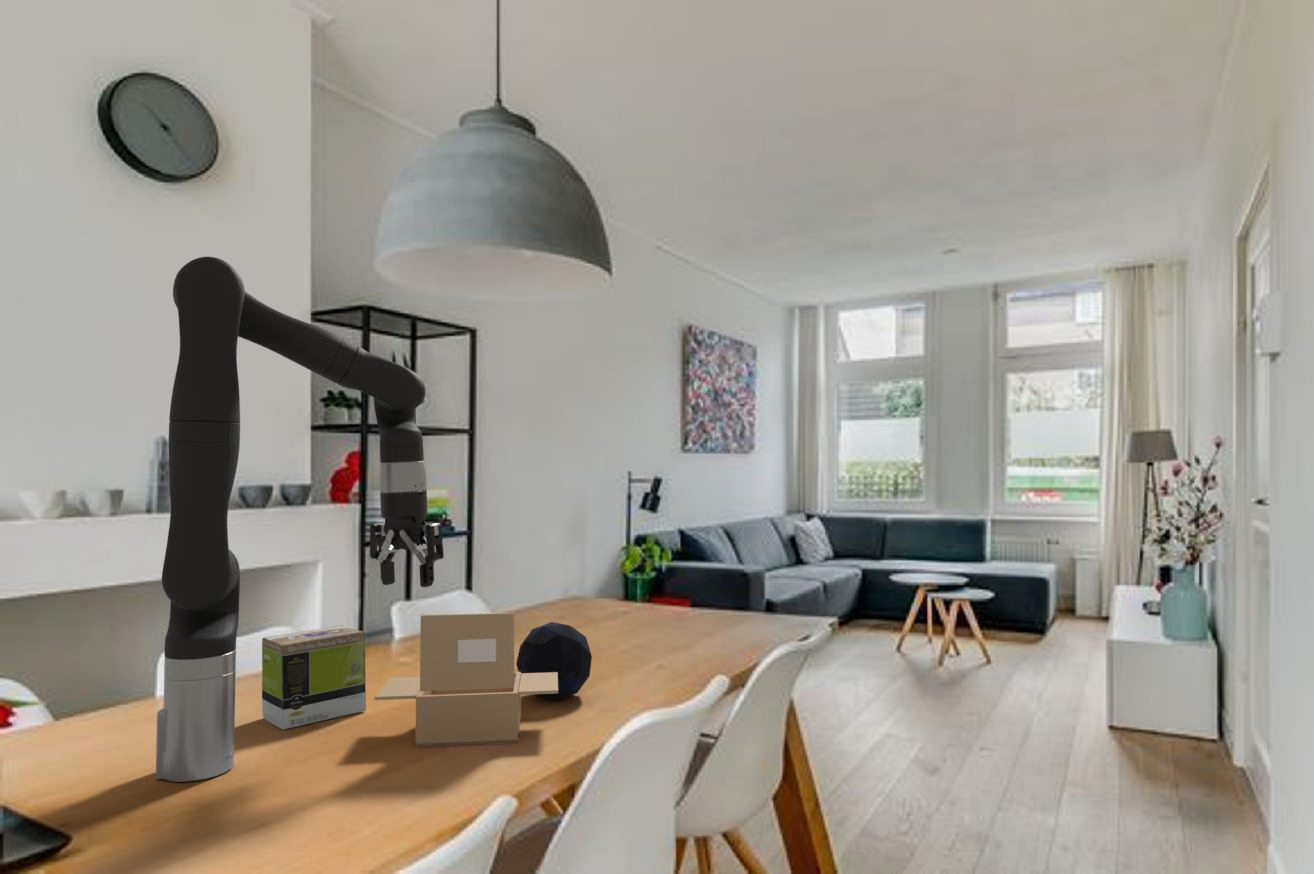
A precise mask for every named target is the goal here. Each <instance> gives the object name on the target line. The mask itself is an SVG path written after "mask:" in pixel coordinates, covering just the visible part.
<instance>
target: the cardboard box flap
mask: <svg viewBox="0 0 1314 874" xmlns="http://www.w3.org/2000/svg"><path fill="white" fill-rule="evenodd" d="M515 615H516V614H515V612H500V613H499V612H495V613H491V612H490V613H489V612H488V613H457V614H456V613H453V614H449V613H448V614H445V613H444V614H421V615H420V635H419V636H420V644H419V647H420V649H419V650H420V655H419V656H420V657H419V660H420V661H419V665H420V666H419V677H420V691H448V690H476V689H504V688H514V672H515V618H516V617H515Z"/></svg>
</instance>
